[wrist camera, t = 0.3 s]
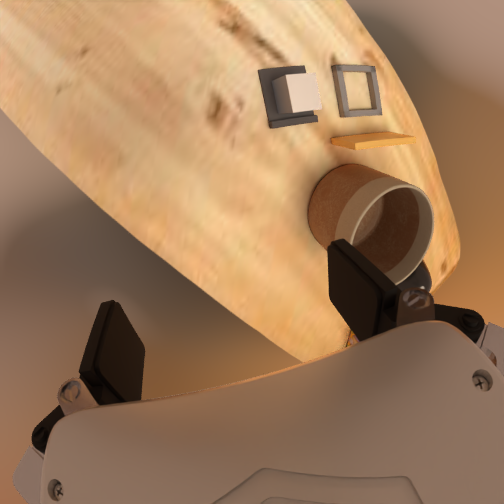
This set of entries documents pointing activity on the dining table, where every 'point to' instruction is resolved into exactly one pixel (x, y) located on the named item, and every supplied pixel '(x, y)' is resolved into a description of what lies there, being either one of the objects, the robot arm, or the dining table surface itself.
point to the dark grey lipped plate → (270, 102)
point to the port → (363, 112)
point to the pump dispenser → (417, 278)
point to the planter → (374, 218)
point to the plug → (297, 93)
